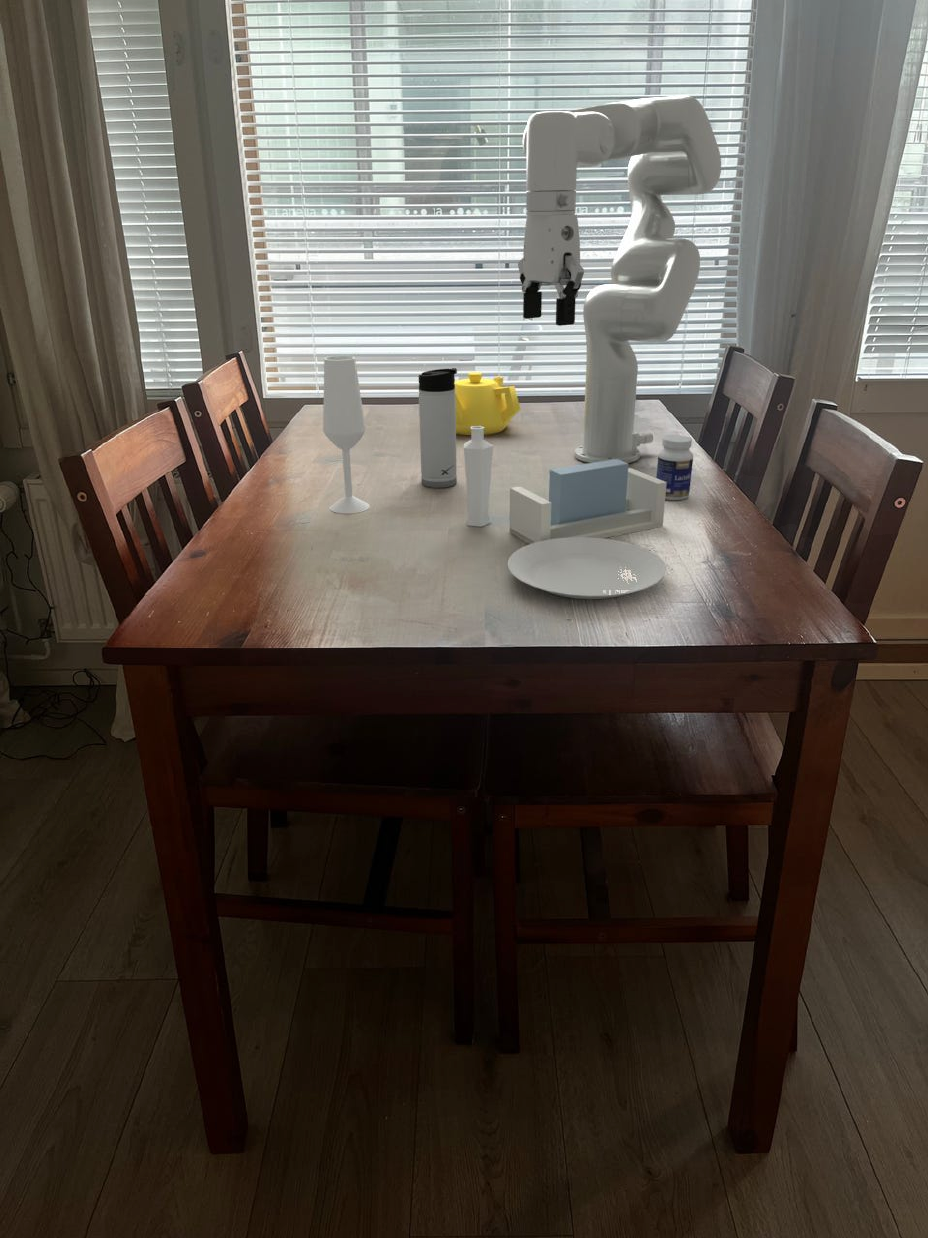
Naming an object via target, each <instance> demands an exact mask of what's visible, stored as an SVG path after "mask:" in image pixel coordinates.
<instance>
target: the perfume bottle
mask: <svg viewBox="0 0 928 1238" xmlns="http://www.w3.org/2000/svg"><path fill="white" fill-rule="evenodd" d="M484 428H485V427H482V426H471V435H470V436H471V439H469V440H468V441H466V442H464V443H463V456H464V467H465V468H464V469H465V470H464V471H465V483H466V484H465V485H466V497H467V499H466V500H467V509H468V511H467V512H468V513H467V518H466V526H471V527H480V528H481V527H484V526H487V525H488V524H490V523H491V520H490V516H489V505H490V504H489V503H490V492H491V491H490V490H491V489H490V488H491V476H492V466H493V465H492V463H493V462H492V461H493V452H494V451H493V449H494V445H493V444H491V443H489V442H488V441H486V440H484V439H485V438H484V437H485V435H484Z"/></svg>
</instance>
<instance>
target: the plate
mask: <svg viewBox="0 0 928 1238" xmlns="http://www.w3.org/2000/svg"><path fill="white" fill-rule="evenodd" d="M620 567H621V568H620ZM625 567H626V568H625ZM507 568H508V570H509V572H510V574H511V575H512V576H513V577H514V578H516V579H517V580H518V581H520V582H522V583H524V584H525V585H526V584H527V585H528V586H531V587H532V588H536V589H540V590H542V591H544V592H545V591H546V592H547V593H550V594H553V595H556V596H560V597H565V598H569V599H570V598H572V599H580V600H581V599H582V600H601V599H602V600H603V599H610V598H611V599H612V598H618V597H621V596H624V595H625V596H626V595H627V594H628V595H629V594H632V593H637V592H640V591H643V590H646V589H648V588H650V587H653V586H655V585H656V584H659V582H660V581H662V579H664V578H665V575H666V572H667V567H666V564H665V562H664V560H663V559H662V558H661V557H660V556H659V555H658V554H655V553H654V552H653V551H651V550H648V549H647V548H644V547H642V546H639V545H635V544H633V543H629V542H625V541H621V540H617V539H616V540H615V539H611V538H610V539H608V538H589V537H569V538H557V539H549V540H544V541H540V542H535V543H532V544H527V545H524V546H522V547H521V548H519V549H517V550H514V552H513V553H511V555H510V557H509V558H508V561H507ZM620 569H622V573H625V572H623V571H624V570H625V569H626V570H631V575H632V577H636V579H637V582H636V580H635V579H633V578H632V580H633V581H631V580H630V579H629V578H628V583H629V584H628V583H627V581H626V580H625V579H624V578H623V579H622V577H621V576H620V575H621V574H622V573H620V572H621V570H620ZM618 571H619V572H618ZM627 573H628V571H627ZM618 574H619V575H618ZM633 574H635V575H636V576H635V575H633ZM624 576H625V575H623V577H624ZM627 576H628V574H627ZM625 577H626V576H625ZM618 578H619V579H618ZM623 580H624V581H623ZM603 590H606V594H605V593H603ZM609 590H611V595H609ZM615 590H620V594H619V592H617V591H616V594H615ZM621 590H629V591H627V592H625V593H621Z"/></svg>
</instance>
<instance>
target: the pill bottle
mask: <svg viewBox="0 0 928 1238" xmlns="http://www.w3.org/2000/svg"><path fill="white" fill-rule="evenodd" d="M692 440H693V439H692V438H691V437H689V436H684V435H679V434H678V435H677V434H676V435H675V434H672V435H671V434H670V435H665V436H663V437H662V443H661V444H662V445H661V446H663V449H662V450H660V452H658V457H657V464H656V465H657V467H656V477H655V478H657V479H660V480H662V481H665V482H667V483H666V495H665V501H682V500H686V499H688V498H689V496H690V490H691V481H692V470H693V464H694V463H693V462H694V454H693V453H692V451H691V450H690V448H691V447H692V444H693V441H692Z"/></svg>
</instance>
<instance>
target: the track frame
mask: <svg viewBox="0 0 928 1238" xmlns="http://www.w3.org/2000/svg"><path fill="white" fill-rule="evenodd" d="M666 483H667V482H665V481H662V480H660V479H657V478H656V477H654V476H651V475H650V474H646V473H644V472H642V471H638V470H636V469H635V468H631V467H628V479H627V493H626V508H625V512H622V513H617V514H612V515H606V516H601V517H596V518H590V519H585V520H580V521H574V522H569V523H564V524H558V525H553V526H551V502H549V500H547V499H545V498H543V497H542V496H540V495H537V494H535V493H533V492H531V491H530V490H527V489H525V488H524V487H521V486H520V485H519V486H513V487H509V533H510V534H512V535H513V536H515V537H516V538H518V539H519V540H521V541H523V542H525V543H526V544H527V545H530V544H532V543H535V542H540V541H544V540H549V539H557V538H569V537H589V538H603V539H608V538H611V537H617V536H621V535H625V534H626V535H627V534H631V533H637V532H642V531H646V530H652V529H656V528H661V527H664V517H665V516H664V515H665V507H666V506H665V504H666V503H665V502H666V500H665V495H666Z"/></svg>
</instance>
